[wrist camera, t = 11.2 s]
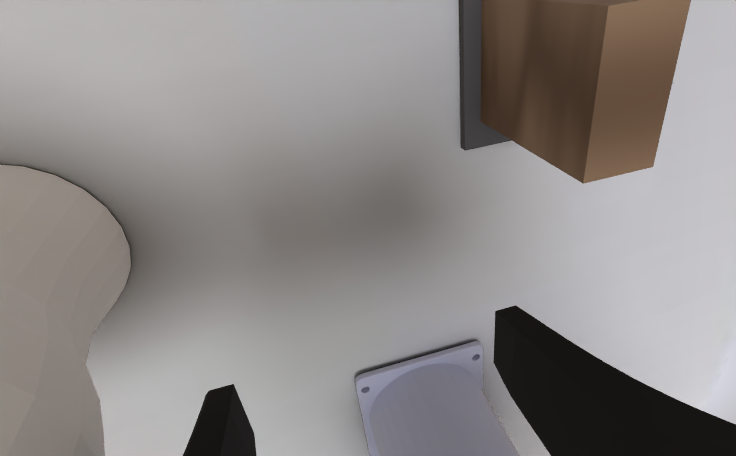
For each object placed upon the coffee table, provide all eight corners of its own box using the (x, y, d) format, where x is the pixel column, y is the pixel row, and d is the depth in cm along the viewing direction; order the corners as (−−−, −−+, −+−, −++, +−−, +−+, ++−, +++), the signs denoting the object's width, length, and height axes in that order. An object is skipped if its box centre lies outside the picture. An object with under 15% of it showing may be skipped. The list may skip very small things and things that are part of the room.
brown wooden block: (531, 110, 20) (652, 166, 14) (480, 121, 20) (582, 183, 14) (540, -14, 18) (692, -10, 12) (481, -5, 17) (608, 5, 11)
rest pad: (539, 130, 21) (544, 133, 21) (461, 147, 21) (464, 150, 20) (553, -40, 18) (559, -40, 17) (458, -25, 17) (463, -26, 17)
